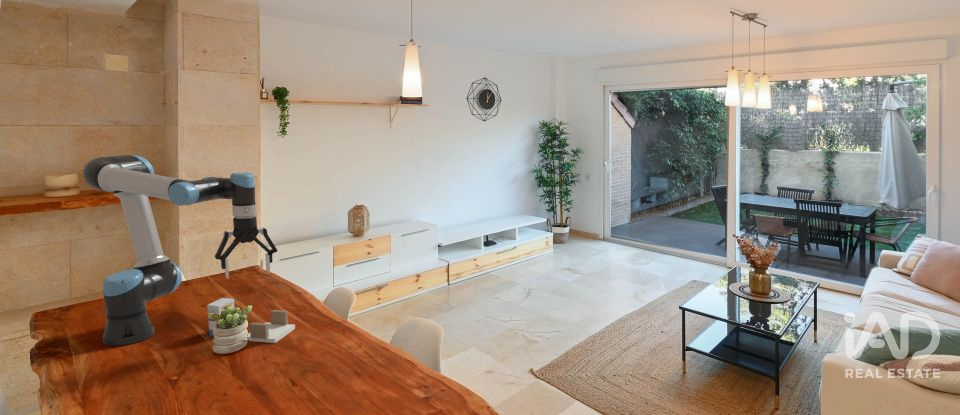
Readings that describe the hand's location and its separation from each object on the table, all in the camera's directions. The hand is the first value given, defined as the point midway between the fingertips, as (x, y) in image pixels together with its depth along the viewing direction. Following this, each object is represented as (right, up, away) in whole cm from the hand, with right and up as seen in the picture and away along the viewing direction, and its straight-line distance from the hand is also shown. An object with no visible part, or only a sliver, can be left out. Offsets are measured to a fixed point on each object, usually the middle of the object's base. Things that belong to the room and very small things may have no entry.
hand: (248, 274), depth 179 cm
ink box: (-11, -22, +3) cm, 25 cm away
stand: (+7, -22, +2) cm, 23 cm away
